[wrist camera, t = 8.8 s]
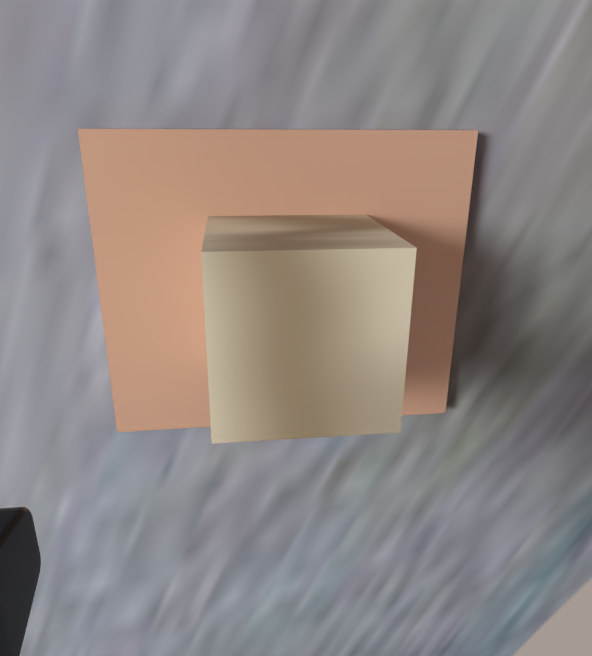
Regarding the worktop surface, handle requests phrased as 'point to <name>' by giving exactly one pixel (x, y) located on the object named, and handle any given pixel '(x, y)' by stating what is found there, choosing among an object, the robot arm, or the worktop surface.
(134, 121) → the worktop surface
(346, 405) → the beige cube
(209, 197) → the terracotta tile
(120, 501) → the worktop surface
